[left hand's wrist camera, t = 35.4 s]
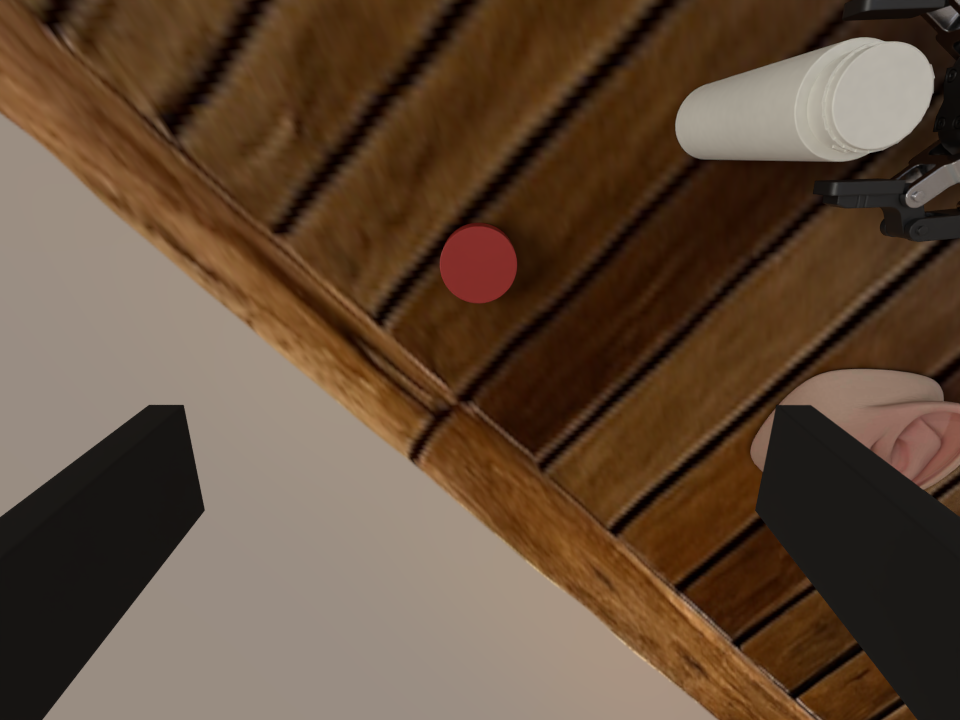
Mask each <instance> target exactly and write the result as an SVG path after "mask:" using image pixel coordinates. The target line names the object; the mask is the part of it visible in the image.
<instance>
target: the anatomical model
mask: <svg viewBox="0 0 960 720" xmlns="http://www.w3.org/2000/svg"><path fill="white" fill-rule="evenodd" d="M779 405H812V406H813V407H814V408H816V409H817V410H818V411H820V412H821V413H822V414H824V415H825V416H826V417H828V418H829V419H830V420H832V421H833V422H834V423H836V424H837V425H838V426H839V427H841V428H842V429H843V430H845V431H846V432H847V433H849V434H850V435H851V436H853V437H854V438H855V439H857V440H858V441H859V442H861V443H862V444H863V445H865V446H866V447H867V448H869V449H870V450H871V451H873V452H874V453H875V454H877V455H878V456H879V457H881V458H882V459H883V460H885V461H886V462H887V463H889V464H890V465H891V466H893V467H894V468H895V469H897V470H898V471H899V472H901V473H902V474H903V475H904V476H906V477H907V478H908V479H910V480H911V481H912V482H914V483H915V484H916V485H918V486H919V487H920V488H922V489H923V490H924V489H926V488H928V487H930V486H932V485H934V484H935V483H937V482H938V481H940V480H941V479H942V478H944V477H945V476H947V475H948V474H949V473H951V472H952V471H953V470H954V469H956V468H957V467H958V466H959V465H960V404H959V403H954V402H946V401H944V397H943V391H942V389H941V387H940V385H939V384H938V383H937V382H935V381H934V380H933V379H931V378H928V377H926V376H922V375H918V374H914V373H908V372H900V371H892V370H878V369H847V370H836V371H830V372H826V373H822V374H819V375H817V376H814V377H812V378H810V379H809V380H807V381H805V382H804V383H802V384H801V385H799V386H798V387H797V388H796V389H794V390H793V391H792V392H791V393H790V394H789V395H788V396H787V397H786V398H785V399H784V400H783V401H782V402H781V403H780V404H779ZM775 409H776V408H775ZM774 414H775V410H774V411H773V412H772V413H771V414H770V416H769V417H768V418H767V420H766V421H765V422H764V424H763V425H762V426H761V428H760V430H759V431H758V433H757V435H756V436H755V438H754V440H753V443H752V446H751V451H750V452H751V458H752V460H753V461H754V463H755V464H756V465H757V466H758V468H759V469H760V470H761V471H762V472H763V469H764V464H765V459H766V454H767V449H768V444H769V439H770V434H771V429H772V424H773V419H774Z"/></svg>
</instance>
